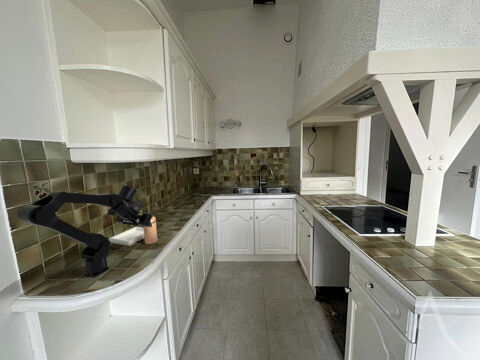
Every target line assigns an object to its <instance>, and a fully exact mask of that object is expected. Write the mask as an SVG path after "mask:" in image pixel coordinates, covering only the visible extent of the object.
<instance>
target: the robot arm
mask: <svg viewBox="0 0 480 360" xmlns="http://www.w3.org/2000/svg"><path fill="white" fill-rule="evenodd" d="M137 193H138V190H137V189H135V188H133V187H131V186H128V185H123V186H122V188H121V190H120V191H119V193H118V194H116V193H96V194H90V193H89V194H88V193H79V192H78V193H77V192H67V191H65V190H64V191H61V190H58V191H57V190H56V191H53V192H51V193H49V194H48V195H45V196H44V197H42V198H40V199H37V200H35V201H33V202H32V203H31V204H28V205H24V206H22V207H21V208H20V209H19V210H18V211H17V213H16V218H17V220H18V221H19V222H21V223H24V224H28V225H32V226H37V227H40V228H44V229H45V228H46V229H49V230H51V231H53V232H55V233H56V234H59V235H62V236H64V237H66V238H67V239H68V238H69V239H70V240H73V241H75V242H77V243H78V244H81V246H82V247H83V248H84V249H82V252H81V253H80V258H81V259H82V260H84V265H85V272H84V273H83V275H84V276H88V277H92V278H96V277H98V276H99V275H101V274H104V273H105V272H106V271H108V270H109V269H111V268H110V267H109V266H108V265H109V264H108V258H107V257H109V253H110V248H111V243H110V241H109V237H107V236H105V235H103V234H102V233H97V232H90V233H88V232H86V231H84V230H82V229H80V228H78V227H77V226H74V225H72V224H71V223H69V222H66V221H64V220H62V219H60V217H59V216H58V215H57V214H56V213H57V212H59V210H60V209H61V208H62V206H63V205H65V204H67V203H69V204H71V203H72V204H89V205H94V206H98V207H105V208H108V209H107V215H108V216H115V214H116V215H117V217H116V219H115V220H116V223H118V224H122V225H131V226H135V227H139V226H141V227H143V226H144V227H152V224H151V222H150V220H151V218H152V217H153V216H154V215H153V214H152V213H151V212H143V213H142V214H141V210H142V209H143V208H144V207H145V204H144V202H143V200H134V197H136V195H137ZM138 225H139V226H138Z"/></svg>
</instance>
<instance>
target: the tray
mask: <svg viewBox="0 0 480 360" xmlns="http://www.w3.org/2000/svg"><path fill="white" fill-rule="evenodd" d="M143 239H144V231H143V227H142V226H141V227H139V226H135V227H132V228H130V229H127V230H126V231H123V232H121V233H119V234H116V235H114V236H111V237H108V240H109V241H110V244H115V245H121V246H127V247H128V246H131V245H134V244H136V243H138V242H139V241H141V240H143Z"/></svg>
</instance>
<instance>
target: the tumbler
mask: <svg viewBox="0 0 480 360" xmlns="http://www.w3.org/2000/svg"><path fill="white" fill-rule="evenodd" d="M150 222H151V224H152V227H144V226H142V228H143V231H144V240H143V241H144V244H146V245H151V244H154V243H156V242H157V241H158V232H157V221H156V216H154V215H153V217H152V218H151V220H150Z"/></svg>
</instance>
